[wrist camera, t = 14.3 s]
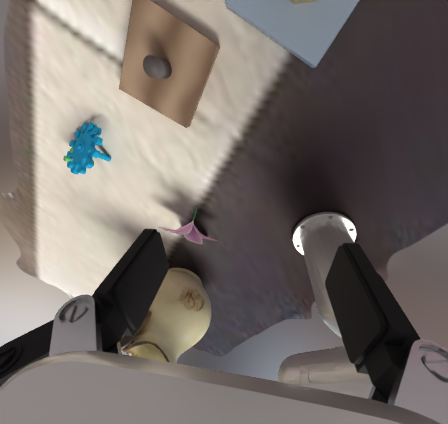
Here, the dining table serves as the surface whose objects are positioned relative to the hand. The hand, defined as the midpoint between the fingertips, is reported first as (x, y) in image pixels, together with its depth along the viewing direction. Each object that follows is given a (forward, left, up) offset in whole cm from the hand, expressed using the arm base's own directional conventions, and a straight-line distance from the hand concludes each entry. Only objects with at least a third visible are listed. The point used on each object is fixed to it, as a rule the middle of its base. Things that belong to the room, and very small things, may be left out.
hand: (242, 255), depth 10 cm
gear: (+27, +17, -29) cm, 43 cm away
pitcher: (-3, +47, -28) cm, 55 cm away
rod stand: (+17, -2, -28) cm, 33 cm away
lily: (+2, +23, -29) cm, 37 cm away
